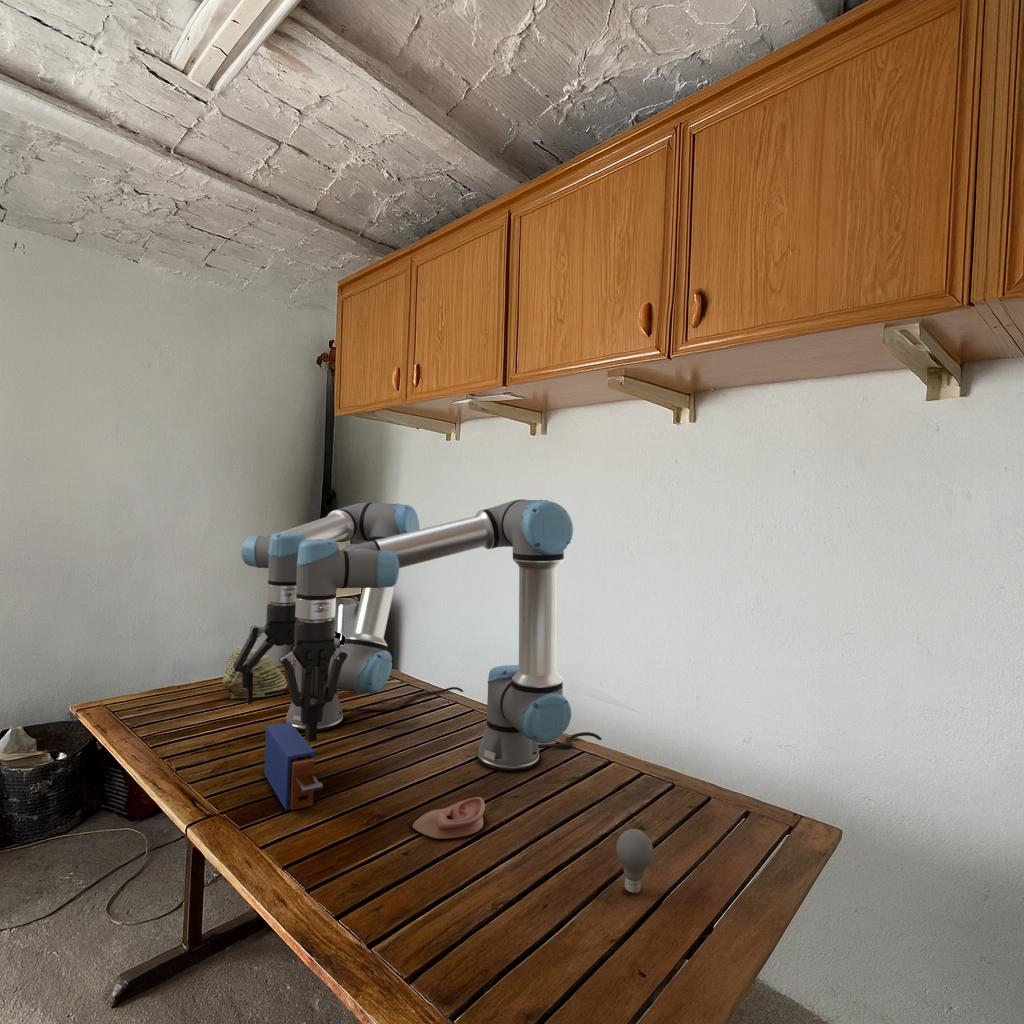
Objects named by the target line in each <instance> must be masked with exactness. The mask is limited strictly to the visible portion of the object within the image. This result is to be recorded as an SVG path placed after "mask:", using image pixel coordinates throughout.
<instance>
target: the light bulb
mask: <svg viewBox="0 0 1024 1024" xmlns="http://www.w3.org/2000/svg"><path fill="white" fill-rule="evenodd" d="M615 849H616V854H617V857H618V859H619V861H620V863H621V865H622V867H623V873H624V874H623V875H624V876H625V878H624V888H625V890H627V891H628V892H630V893H634V894H635V893H639V892H640V891H641V889H642V887H641V886H642V879H643V877H644V875H645V871H646V868H647V867H648V866H649V864H650V863H651V861H652V859H653V855H654V847H653V843H652V841H651V838H649V836H648V835H647V834H646V833H645V832H643V831H642V830H641V829H636V828H629V829H627V830H625V831H623V832H622V833H621V834H620V835H619V837H618V839H617V841H616V847H615Z"/></svg>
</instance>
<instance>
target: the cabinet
mask: <svg viewBox="0 0 1024 1024" xmlns="http://www.w3.org/2000/svg"><path fill="white" fill-rule="evenodd" d="M264 741H265V743H264V771H263V775H264V776H265V778H266V779H267V781H268V783H269V784H270V787H271V788H272V789H273V791H274V793H275V795H276V796H277V798H278V799H279V801H280V803H281V805H282V806H283V808H284V810H285V811H289V810H291V808H290V806H291V801H290V779H291V759H295V758H300V757H306V756H308V759H311V758H313V759H314V760H315V754H316V752H315V749H313V747H312V746H311V745H310V744H309V742H308V741H307V740H306V738H305V737H303V735H301V733H300V731H297V730H296V728H295V727H294V726H293V725H292V724H291V722H288V723H286V722H282V723H276V724H270V725H266V726H265V740H264Z"/></svg>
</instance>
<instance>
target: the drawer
mask: <svg viewBox="0 0 1024 1024" xmlns="http://www.w3.org/2000/svg"><path fill="white" fill-rule="evenodd" d="M315 764H316V760H315V759H313V758H311V759H308V756H306V757H300V758H295V759H291V779H290V801H291V806H290V808H291V809H290V810H291V811H296V810H299V809H305V808H309V807H313V806H314V793H315V791H321V790H323V782H319V780H318V779H317V777H316V776H315V768H316V765H315Z"/></svg>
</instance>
